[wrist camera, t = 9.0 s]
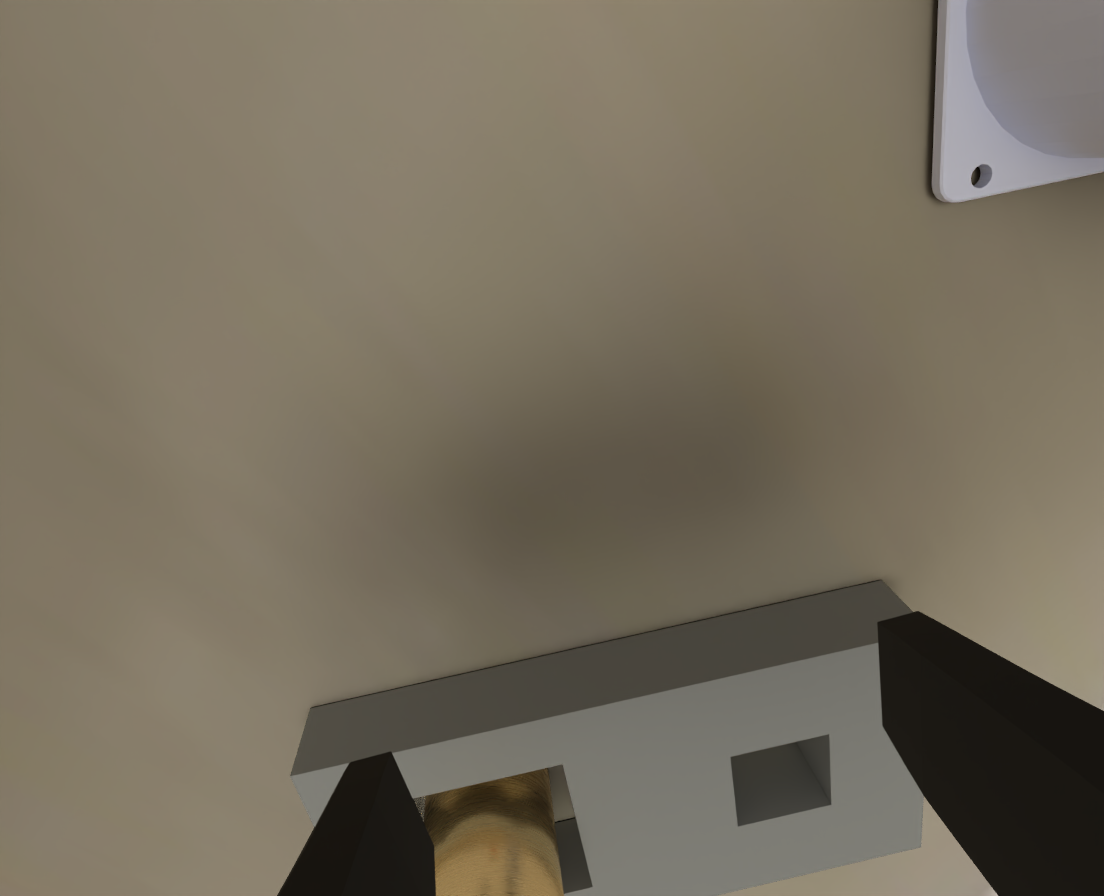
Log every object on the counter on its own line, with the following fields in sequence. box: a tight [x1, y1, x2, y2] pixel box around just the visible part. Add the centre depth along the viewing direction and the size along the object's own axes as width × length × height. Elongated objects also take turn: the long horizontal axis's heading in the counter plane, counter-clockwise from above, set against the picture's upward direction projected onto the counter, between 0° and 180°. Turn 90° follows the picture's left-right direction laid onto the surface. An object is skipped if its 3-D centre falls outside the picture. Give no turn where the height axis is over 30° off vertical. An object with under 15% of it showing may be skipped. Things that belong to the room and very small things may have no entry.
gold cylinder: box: [424, 768, 564, 896], centre depth 20 cm, size 4×4×6 cm
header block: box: [290, 580, 924, 896], centre depth 21 cm, size 18×9×2 cm, turn 101°
